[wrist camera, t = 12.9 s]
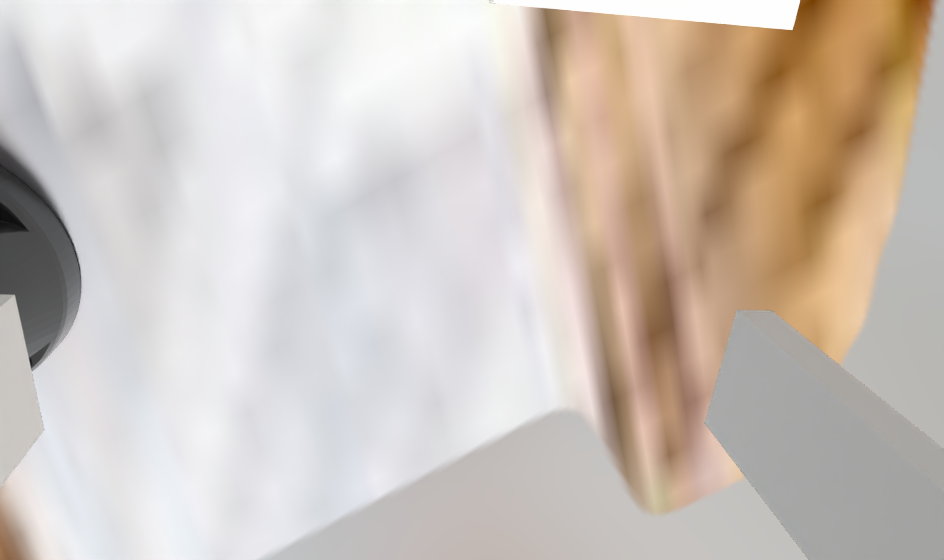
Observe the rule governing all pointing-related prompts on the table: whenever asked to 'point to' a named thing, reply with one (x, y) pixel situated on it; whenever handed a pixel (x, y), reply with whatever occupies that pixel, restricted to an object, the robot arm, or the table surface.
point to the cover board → (684, 10)
